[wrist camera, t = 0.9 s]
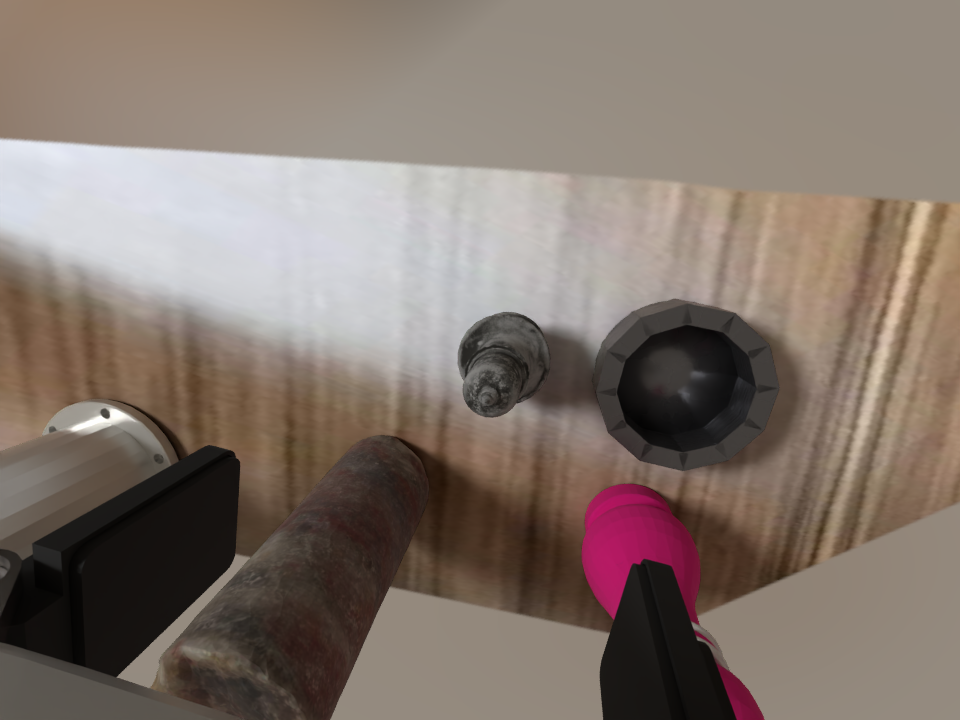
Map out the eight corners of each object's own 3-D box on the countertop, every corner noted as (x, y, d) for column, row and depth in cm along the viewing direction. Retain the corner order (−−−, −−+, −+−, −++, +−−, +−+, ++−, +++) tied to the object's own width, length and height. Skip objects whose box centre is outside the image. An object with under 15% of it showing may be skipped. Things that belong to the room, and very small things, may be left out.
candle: (455, 485, 36) (348, 750, 17) (392, 539, 38) (232, 835, 19) (383, 414, 36) (190, 606, 17) (324, 473, 38) (87, 707, 18)
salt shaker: (561, 374, 33) (568, 440, 22) (484, 400, 34) (451, 475, 23) (533, 295, 32) (524, 320, 21) (454, 324, 34) (404, 363, 22)
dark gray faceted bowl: (616, 461, 34) (623, 484, 31) (575, 327, 32) (578, 336, 29) (767, 425, 32) (792, 445, 29) (732, 279, 30) (755, 283, 27)
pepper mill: (586, 468, 35) (633, 744, 15) (689, 485, 34) (876, 799, 14) (570, 554, 36) (595, 900, 17) (667, 573, 35) (809, 958, 16)
